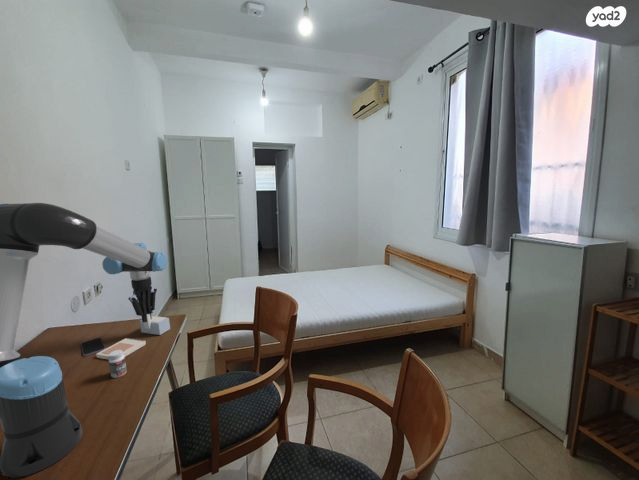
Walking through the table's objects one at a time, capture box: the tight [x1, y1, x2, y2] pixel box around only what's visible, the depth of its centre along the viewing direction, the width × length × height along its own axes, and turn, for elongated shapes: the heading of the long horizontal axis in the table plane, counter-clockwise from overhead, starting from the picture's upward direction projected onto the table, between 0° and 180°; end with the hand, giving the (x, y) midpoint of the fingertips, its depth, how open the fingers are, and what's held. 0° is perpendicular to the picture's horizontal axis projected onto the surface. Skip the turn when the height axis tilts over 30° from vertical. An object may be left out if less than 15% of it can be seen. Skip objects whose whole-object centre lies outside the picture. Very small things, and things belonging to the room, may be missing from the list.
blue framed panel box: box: [139, 315, 171, 336], centre depth 136 cm, size 6×11×6 cm, turn 73°
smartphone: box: [80, 337, 106, 357], centre depth 124 cm, size 7×1×15 cm
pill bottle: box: [108, 350, 128, 379], centre depth 104 cm, size 5×5×8 cm
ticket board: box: [95, 337, 147, 361], centre depth 120 cm, size 13×11×2 cm
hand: (148, 327), depth 132 cm, fingers closed
